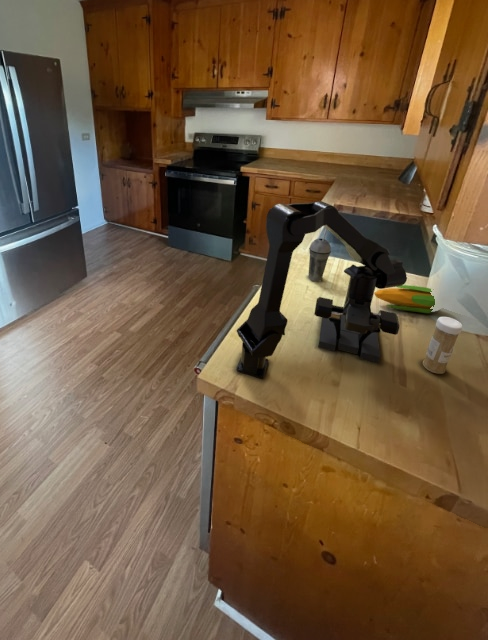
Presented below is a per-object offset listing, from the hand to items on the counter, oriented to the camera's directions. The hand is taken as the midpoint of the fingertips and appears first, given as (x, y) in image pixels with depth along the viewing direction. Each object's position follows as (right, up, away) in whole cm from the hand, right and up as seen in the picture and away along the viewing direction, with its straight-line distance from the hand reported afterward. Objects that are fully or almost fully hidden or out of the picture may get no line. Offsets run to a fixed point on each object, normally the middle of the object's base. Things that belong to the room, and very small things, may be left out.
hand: (348, 341), depth 86 cm
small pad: (0, -1, 0) cm, 1 cm away
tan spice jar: (+17, -5, -6) cm, 19 cm away
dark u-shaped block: (+2, 0, +5) cm, 5 cm away
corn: (+27, +5, +17) cm, 32 cm away
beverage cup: (+5, +12, +35) cm, 37 cm away
